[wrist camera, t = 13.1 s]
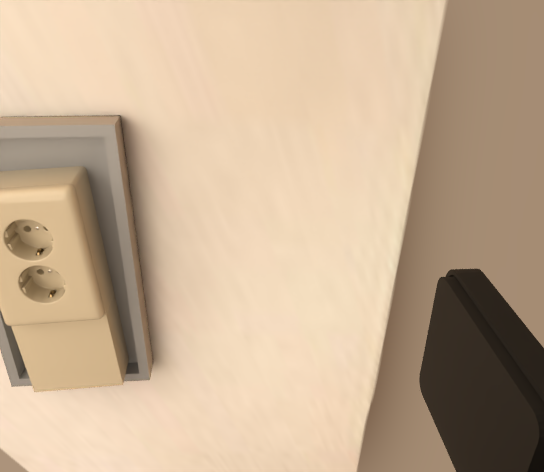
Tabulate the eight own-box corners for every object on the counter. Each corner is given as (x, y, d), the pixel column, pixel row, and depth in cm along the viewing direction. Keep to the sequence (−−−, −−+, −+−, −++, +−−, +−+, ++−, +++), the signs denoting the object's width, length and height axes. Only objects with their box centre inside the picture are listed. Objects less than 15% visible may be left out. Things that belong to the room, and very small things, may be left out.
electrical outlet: (30, 400, 42) (-44, 195, 33) (46, 365, 45) (-18, 172, 37) (121, 393, 42) (70, 188, 33) (129, 358, 46) (85, 165, 37)
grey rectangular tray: (-53, 117, 35) (-69, 127, 34) (120, 115, 36) (114, 124, 34) (20, 368, 46) (11, 386, 44) (153, 362, 47) (149, 379, 45)
